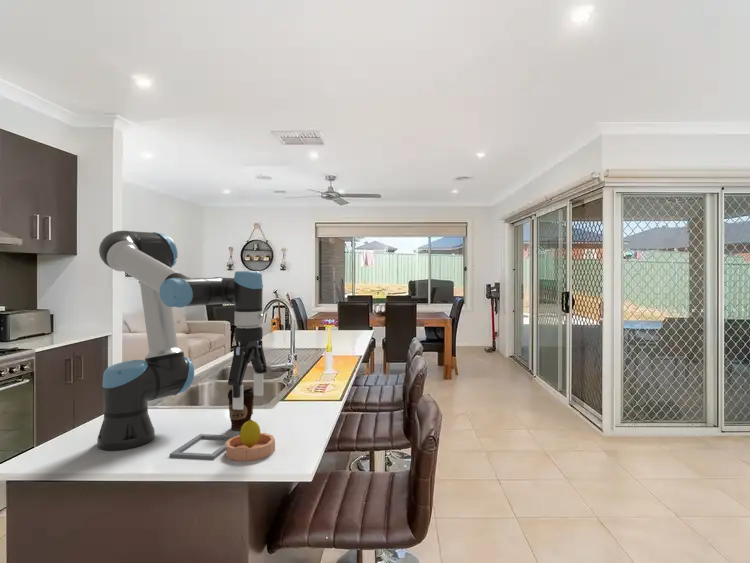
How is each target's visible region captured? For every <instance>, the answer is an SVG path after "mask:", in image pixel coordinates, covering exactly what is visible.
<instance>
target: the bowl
mask: <svg viewBox="0 0 750 563" xmlns="http://www.w3.org/2000/svg"><path fill="white" fill-rule="evenodd" d="M234 436H235V437H232V438H230V439H229V440H227V441H226V440H225V443H226V450H225V455H226V458H228V459H231V460H233V461H240V462H241V461H242V462H248V461H255V460H260V459H264V458H266V457H268V456H271V455H272V454H273V453H274V452H275V451H276V439H275V437H274V435H272V434H269V433H266V432H260V439H259V441H258V443H257V444H256V445H254V446H252V448H248V447H247V446H245V445H243V443H242V442H241V440H240V434H238V435H234Z"/></svg>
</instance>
